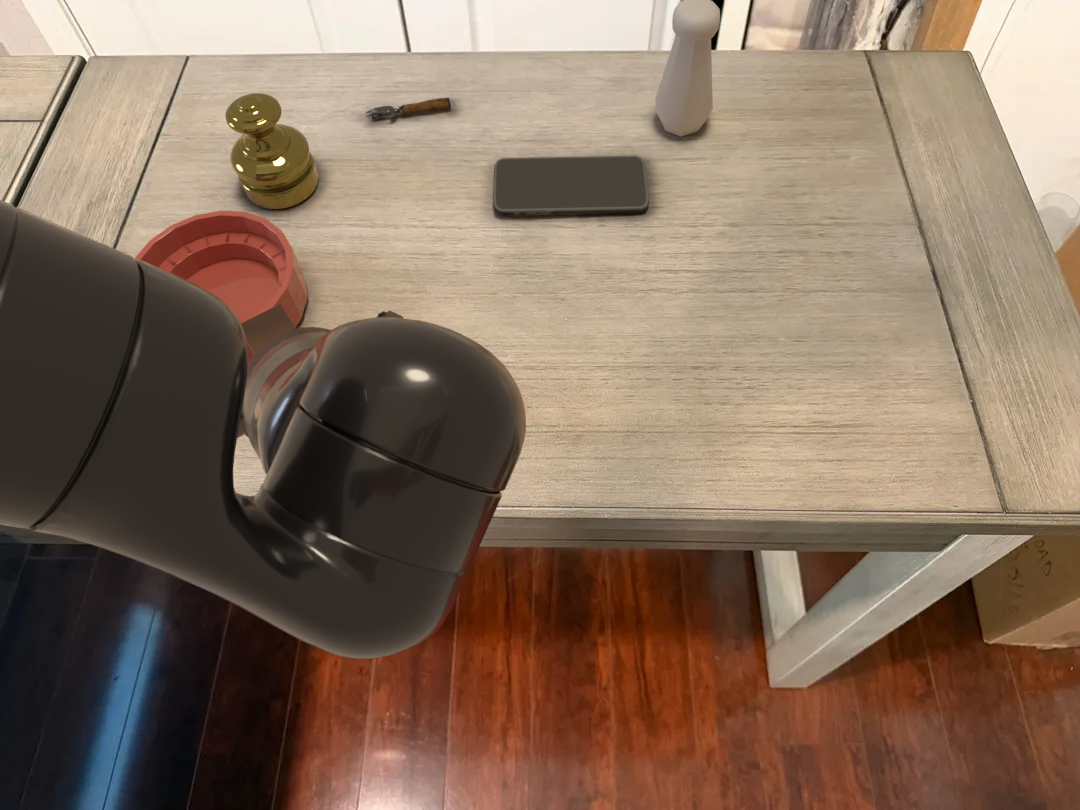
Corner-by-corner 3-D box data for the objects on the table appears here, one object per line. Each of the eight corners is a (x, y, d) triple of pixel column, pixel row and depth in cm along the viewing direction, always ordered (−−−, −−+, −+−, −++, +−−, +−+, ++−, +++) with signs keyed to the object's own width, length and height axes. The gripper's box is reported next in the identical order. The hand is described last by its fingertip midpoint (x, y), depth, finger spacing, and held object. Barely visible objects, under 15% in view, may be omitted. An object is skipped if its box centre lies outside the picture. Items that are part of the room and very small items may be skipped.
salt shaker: (719, 133, 83) (742, 16, 72) (668, 148, 82) (684, 33, 71) (692, 97, 86) (711, -20, 75) (643, 112, 85) (655, -4, 74)
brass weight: (306, 215, 79) (274, 134, 71) (234, 207, 80) (194, 126, 71) (329, 161, 83) (301, 78, 74) (259, 154, 84) (224, 71, 75)
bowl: (252, 396, 69) (231, 363, 65) (118, 343, 72) (89, 309, 68) (337, 274, 75) (323, 237, 71) (211, 230, 79) (190, 193, 74)
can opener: (451, 103, 86) (449, 94, 85) (451, 118, 85) (450, 109, 84) (366, 110, 86) (363, 101, 85) (365, 125, 85) (363, 116, 84)
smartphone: (650, 208, 77) (492, 211, 77) (649, 215, 78) (493, 218, 78) (644, 153, 81) (493, 156, 81) (643, 160, 82) (494, 163, 82)
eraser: (341, 416, 68) (308, 348, 59) (303, 437, 67) (264, 372, 58) (315, 374, 70) (280, 303, 61) (278, 394, 69) (236, 325, 60)
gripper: (411, 275, 42) (358, 274, 57) (144, 412, 38) (163, 373, 53) (475, 401, 44) (408, 368, 59) (229, 542, 40) (224, 469, 55)
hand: (292, 371), depth 56 cm, fingers open, 8 cm apart
